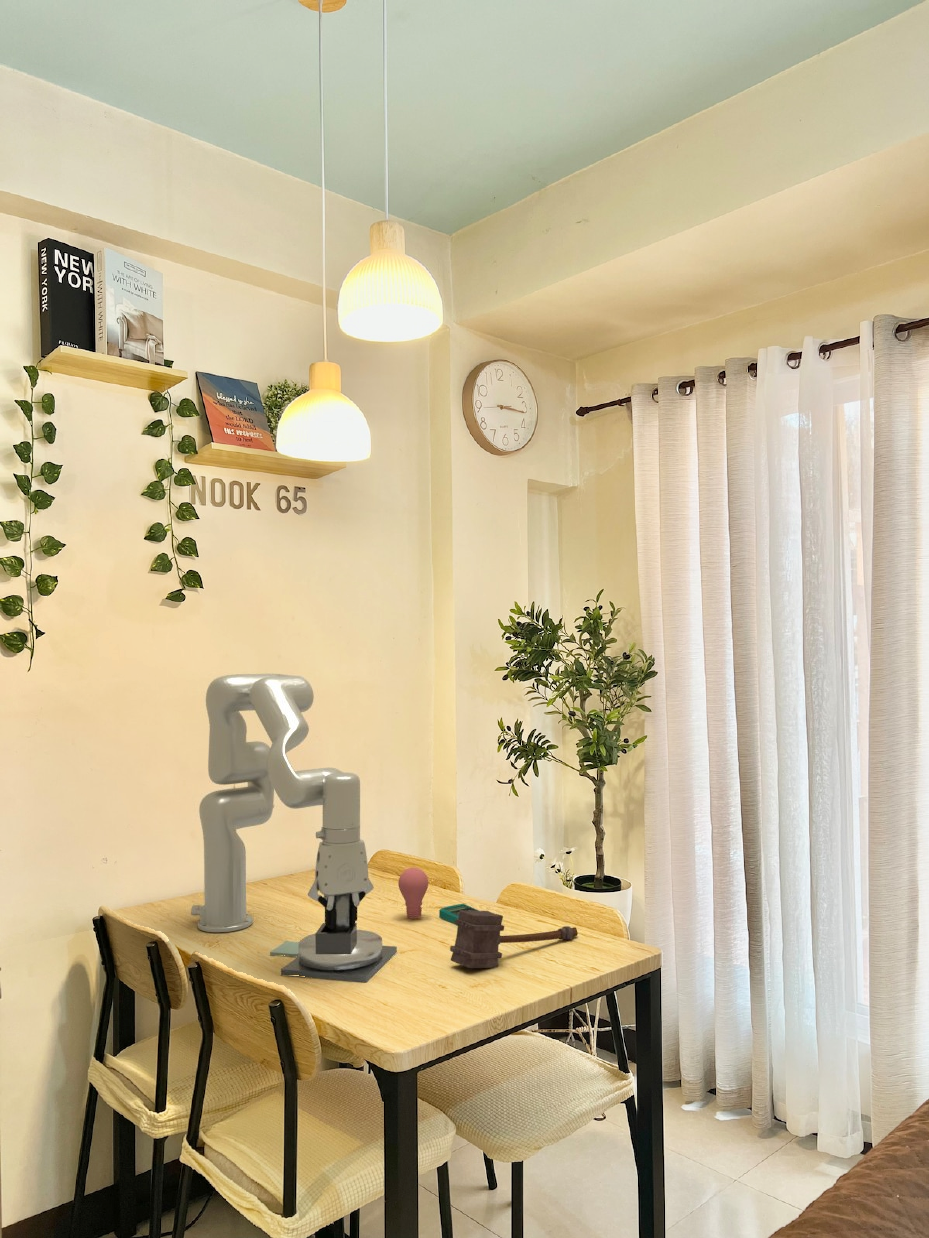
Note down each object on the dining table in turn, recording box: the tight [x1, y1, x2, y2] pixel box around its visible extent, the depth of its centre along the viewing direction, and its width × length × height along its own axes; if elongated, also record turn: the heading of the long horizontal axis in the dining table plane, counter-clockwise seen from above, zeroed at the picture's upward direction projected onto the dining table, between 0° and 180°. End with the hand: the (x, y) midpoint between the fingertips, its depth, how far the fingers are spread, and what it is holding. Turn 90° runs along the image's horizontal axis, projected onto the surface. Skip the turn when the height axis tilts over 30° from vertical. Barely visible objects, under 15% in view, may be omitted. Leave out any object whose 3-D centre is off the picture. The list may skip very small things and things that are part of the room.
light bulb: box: [398, 867, 429, 919], centre depth 219 cm, size 7×7×12 cm
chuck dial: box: [298, 922, 383, 970], centre depth 188 cm, size 17×17×7 cm
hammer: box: [449, 910, 579, 969], centre depth 193 cm, size 7×33×10 cm, turn 129°
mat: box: [269, 940, 300, 957], centre depth 196 cm, size 8×8×1 cm
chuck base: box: [280, 945, 398, 983], centre depth 188 cm, size 18×18×1 cm
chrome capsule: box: [332, 893, 350, 932], centre depth 184 cm, size 4×4×12 cm
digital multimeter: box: [438, 903, 480, 925], centre depth 215 cm, size 7×15×3 cm, turn 34°
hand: (341, 925), depth 184 cm, fingers closed on chrome capsule, 3 cm apart
